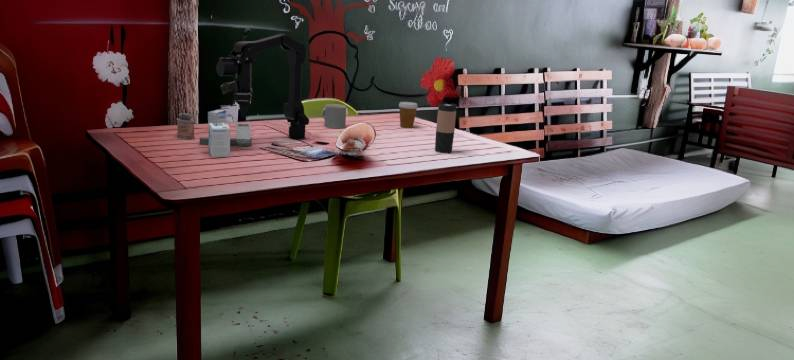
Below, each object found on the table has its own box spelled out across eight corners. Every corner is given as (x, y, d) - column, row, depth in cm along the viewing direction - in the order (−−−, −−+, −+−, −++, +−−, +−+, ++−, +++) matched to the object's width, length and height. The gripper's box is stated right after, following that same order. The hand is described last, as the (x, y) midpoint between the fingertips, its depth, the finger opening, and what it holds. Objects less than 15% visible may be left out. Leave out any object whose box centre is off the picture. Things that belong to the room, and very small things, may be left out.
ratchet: (251, 143, 243) (251, 128, 242) (251, 147, 237) (251, 132, 236) (200, 142, 239) (200, 127, 238) (199, 145, 233) (198, 130, 232)
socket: (250, 136, 242) (250, 124, 241) (250, 139, 237) (250, 126, 236) (236, 135, 241) (236, 123, 240) (235, 139, 236) (235, 126, 234)
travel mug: (440, 153, 249) (444, 105, 244) (430, 149, 256) (435, 102, 250) (455, 153, 253) (460, 105, 247) (446, 148, 259) (450, 102, 254)
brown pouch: (175, 137, 244) (174, 112, 241) (180, 135, 247) (180, 111, 244) (191, 140, 241) (190, 115, 239) (196, 138, 244) (196, 114, 242)
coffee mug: (349, 128, 288) (350, 107, 285) (331, 129, 281) (332, 108, 279) (333, 122, 297) (334, 102, 295) (316, 124, 291) (317, 103, 288)
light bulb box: (208, 150, 227) (207, 122, 224) (226, 150, 230) (226, 122, 227) (211, 157, 218) (211, 128, 215) (230, 157, 221) (230, 128, 218)
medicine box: (217, 132, 257) (217, 112, 255) (208, 131, 258) (207, 111, 256) (226, 129, 265) (226, 110, 263) (217, 128, 266) (216, 109, 263)
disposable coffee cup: (404, 124, 306) (406, 101, 303) (419, 127, 301) (421, 103, 298) (393, 126, 299) (394, 102, 295) (408, 129, 294) (410, 105, 290)
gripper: (223, 71, 239) (223, 110, 244) (219, 77, 222) (220, 119, 226) (252, 73, 242) (252, 111, 246) (251, 78, 224) (250, 120, 228)
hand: (243, 115), depth 236 cm, fingers open, 9 cm apart
